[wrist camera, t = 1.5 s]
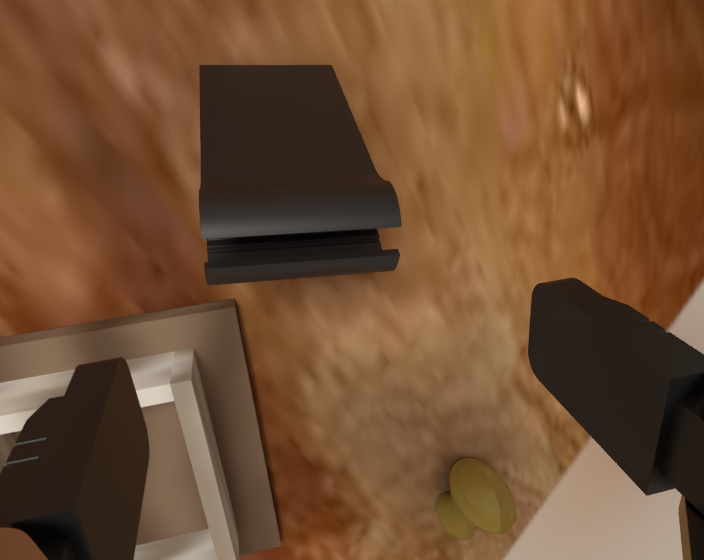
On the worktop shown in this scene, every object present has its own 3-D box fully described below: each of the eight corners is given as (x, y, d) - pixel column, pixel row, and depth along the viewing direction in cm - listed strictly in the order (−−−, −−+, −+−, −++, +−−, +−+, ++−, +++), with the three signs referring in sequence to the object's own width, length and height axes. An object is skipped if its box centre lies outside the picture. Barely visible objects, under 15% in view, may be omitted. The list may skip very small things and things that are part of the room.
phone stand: (199, 63, 25) (185, 88, 14) (331, 64, 26) (410, 88, 15) (216, 251, 28) (215, 383, 18) (331, 244, 30) (394, 364, 19)
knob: (446, 445, 37) (477, 501, 33) (504, 461, 39) (541, 516, 35) (413, 497, 39) (439, 557, 34) (471, 510, 41) (503, 569, 36)
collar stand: (234, 298, 30) (236, 335, 26) (279, 533, 37) (286, 586, 34) (-95, 353, 27) (-142, 402, 23) (27, 593, 35) (5, 658, 31)
